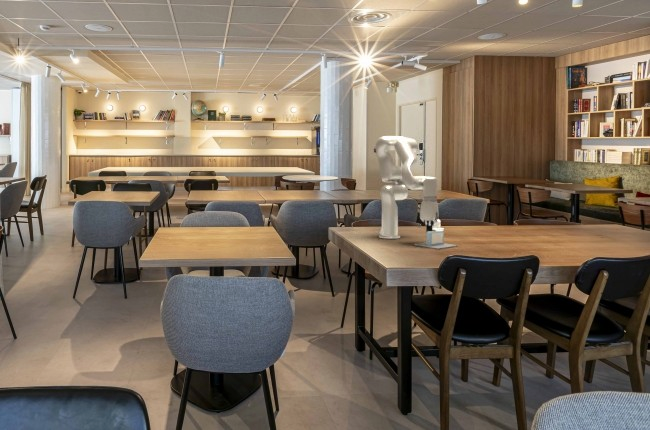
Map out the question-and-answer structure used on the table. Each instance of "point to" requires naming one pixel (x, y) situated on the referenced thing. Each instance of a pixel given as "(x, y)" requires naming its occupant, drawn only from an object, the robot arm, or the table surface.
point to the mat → (436, 246)
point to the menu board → (434, 238)
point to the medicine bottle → (437, 226)
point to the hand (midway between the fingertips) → (429, 232)
